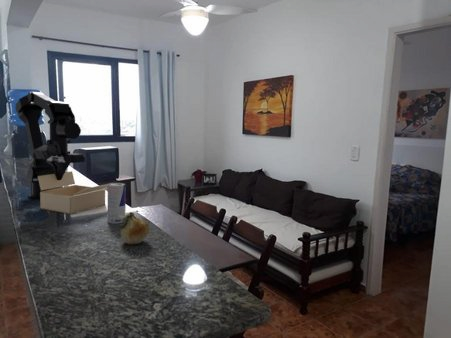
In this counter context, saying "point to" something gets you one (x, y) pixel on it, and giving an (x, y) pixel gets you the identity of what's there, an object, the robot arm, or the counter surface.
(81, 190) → the flap
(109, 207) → the energy drink
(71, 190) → the carton
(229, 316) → the counter surface
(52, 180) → the flap
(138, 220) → the onion
